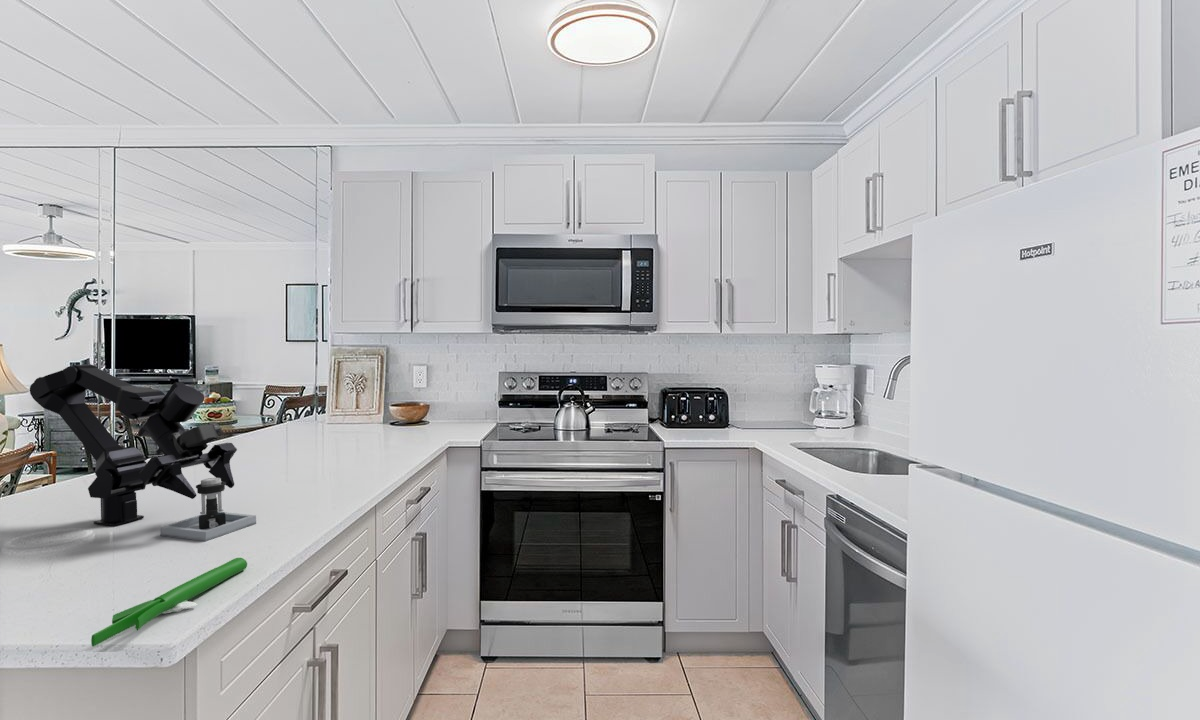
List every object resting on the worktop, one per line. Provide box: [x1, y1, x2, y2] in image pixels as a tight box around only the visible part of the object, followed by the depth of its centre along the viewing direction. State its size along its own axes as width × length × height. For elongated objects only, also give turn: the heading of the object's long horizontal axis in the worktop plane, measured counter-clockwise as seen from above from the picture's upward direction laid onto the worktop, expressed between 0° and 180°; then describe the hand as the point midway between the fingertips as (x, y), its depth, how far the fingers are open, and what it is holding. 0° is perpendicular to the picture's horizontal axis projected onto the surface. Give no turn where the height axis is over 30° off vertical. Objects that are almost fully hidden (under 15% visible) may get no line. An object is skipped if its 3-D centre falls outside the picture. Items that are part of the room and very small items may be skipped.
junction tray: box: [159, 511, 257, 542], centre depth 127 cm, size 12×12×2 cm
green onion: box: [90, 557, 248, 647], centre depth 90 cm, size 5×3×30 cm
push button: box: [189, 477, 226, 530], centre depth 127 cm, size 7×5×10 cm
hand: (214, 491), depth 127 cm, fingers open, 9 cm apart
